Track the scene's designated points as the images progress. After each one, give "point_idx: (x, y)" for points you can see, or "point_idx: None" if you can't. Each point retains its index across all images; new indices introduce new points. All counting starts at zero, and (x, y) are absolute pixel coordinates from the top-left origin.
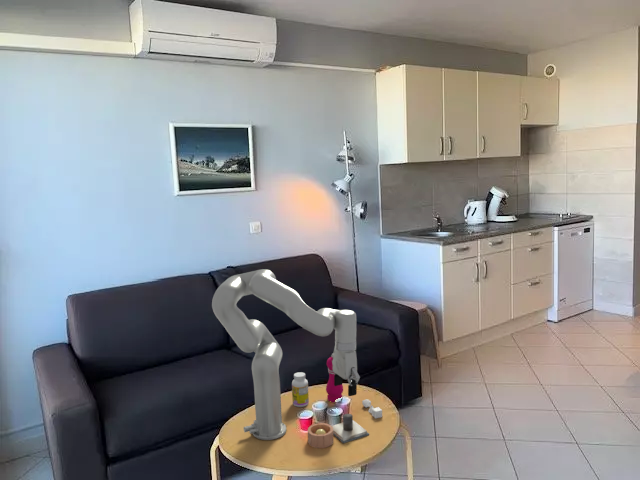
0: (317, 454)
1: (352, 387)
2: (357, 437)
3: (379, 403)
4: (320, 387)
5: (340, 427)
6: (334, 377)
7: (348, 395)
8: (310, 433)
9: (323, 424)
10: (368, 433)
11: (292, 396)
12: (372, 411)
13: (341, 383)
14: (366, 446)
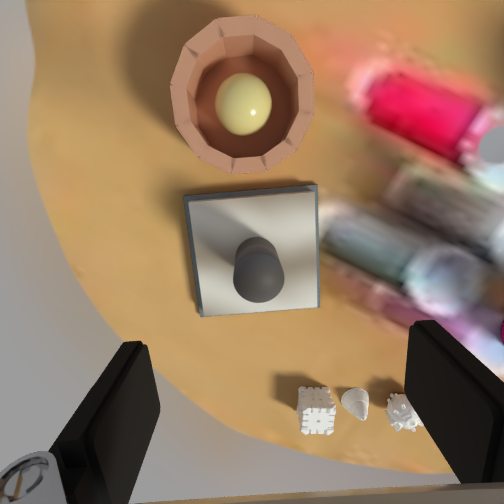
0: (144, 44)
1: (53, 454)
2: (194, 265)
3: (390, 445)
4: None
5: (282, 233)
6: (498, 385)
7: (133, 341)
8: (225, 20)
9: (284, 140)
10: (203, 316)
11: None
12: (327, 400)
13: (410, 394)
14: (126, 267)
